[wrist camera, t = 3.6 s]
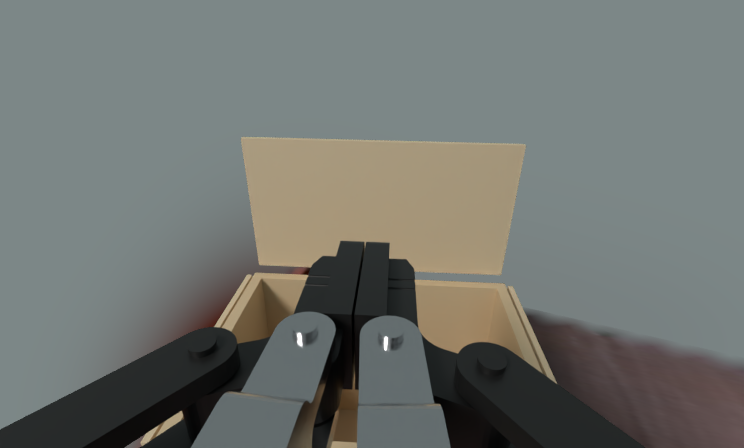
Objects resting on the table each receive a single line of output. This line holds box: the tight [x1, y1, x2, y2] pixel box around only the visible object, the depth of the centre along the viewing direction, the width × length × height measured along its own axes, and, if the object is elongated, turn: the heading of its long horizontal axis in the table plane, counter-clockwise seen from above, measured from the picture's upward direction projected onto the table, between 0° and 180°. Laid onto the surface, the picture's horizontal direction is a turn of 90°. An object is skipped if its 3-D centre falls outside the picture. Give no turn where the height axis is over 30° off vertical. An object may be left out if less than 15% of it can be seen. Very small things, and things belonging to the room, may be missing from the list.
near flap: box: [241, 137, 526, 275], centre depth 24 cm, size 16×8×1 cm
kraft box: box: [141, 273, 557, 448], centre depth 22 cm, size 17×13×12 cm
